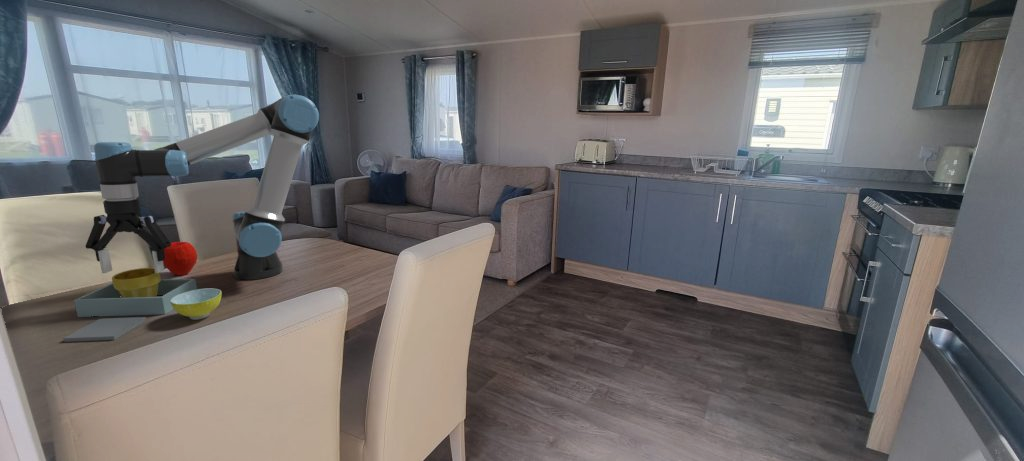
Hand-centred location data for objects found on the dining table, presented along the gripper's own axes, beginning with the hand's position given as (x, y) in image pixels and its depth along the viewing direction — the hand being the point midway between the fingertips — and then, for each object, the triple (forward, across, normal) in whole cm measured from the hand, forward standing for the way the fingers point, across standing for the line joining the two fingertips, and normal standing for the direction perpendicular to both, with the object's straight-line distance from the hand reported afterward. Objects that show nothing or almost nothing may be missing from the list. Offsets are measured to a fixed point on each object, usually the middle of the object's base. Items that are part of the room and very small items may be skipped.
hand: (133, 271), depth 121 cm
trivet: (+10, -4, +17) cm, 20 cm away
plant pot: (+10, 0, 0) cm, 11 cm away
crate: (+10, 0, 0) cm, 10 cm away
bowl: (+10, -22, +10) cm, 26 cm away
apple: (+10, +4, -28) cm, 30 cm away
